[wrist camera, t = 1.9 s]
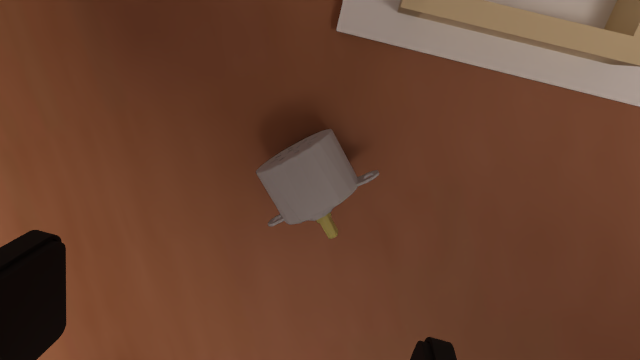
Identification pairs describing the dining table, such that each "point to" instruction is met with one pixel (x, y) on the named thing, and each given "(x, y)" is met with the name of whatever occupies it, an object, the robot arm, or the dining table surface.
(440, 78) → the dining table surface
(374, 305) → the dining table surface
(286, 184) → the electric motor
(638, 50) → the mounting board
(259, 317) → the dining table surface
